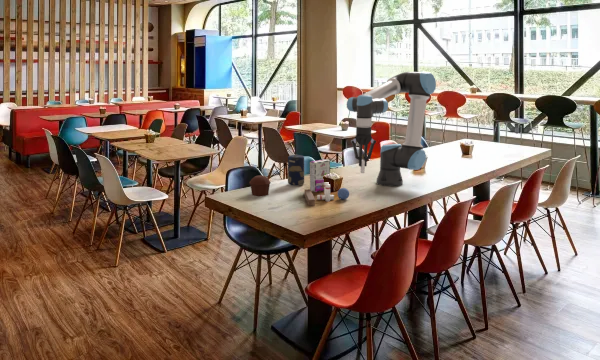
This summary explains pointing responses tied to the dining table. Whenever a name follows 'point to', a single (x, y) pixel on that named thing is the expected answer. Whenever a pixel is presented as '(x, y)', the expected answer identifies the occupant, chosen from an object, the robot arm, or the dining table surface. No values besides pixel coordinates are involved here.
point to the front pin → (322, 197)
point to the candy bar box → (318, 174)
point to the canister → (296, 170)
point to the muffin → (260, 185)
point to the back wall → (309, 197)
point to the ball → (343, 193)
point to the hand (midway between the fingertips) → (362, 172)
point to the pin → (327, 192)
